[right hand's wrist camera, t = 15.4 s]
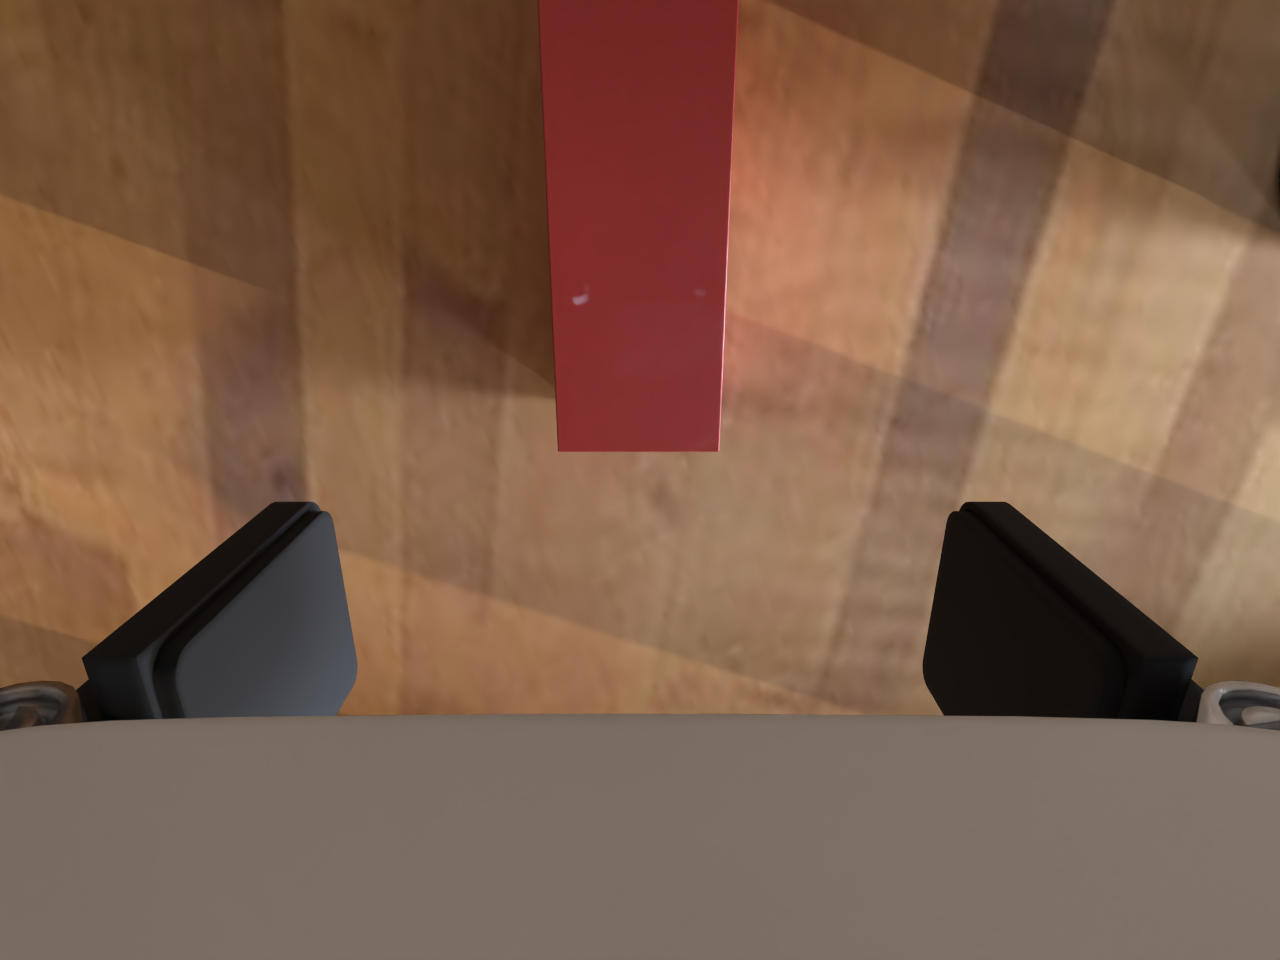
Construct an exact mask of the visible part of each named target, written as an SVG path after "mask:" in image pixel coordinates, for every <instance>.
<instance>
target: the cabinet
mask: <svg viewBox="0 0 1280 960" xmlns="http://www.w3.org/2000/svg"><path fill="white" fill-rule="evenodd" d="M738 8H739V0H538V18H539V40H540V63H541V85H542V107H543V129H544V151H545V173H546V195H547V217H548V240H549V262H550V284H551V306H552V328H553V350H554V372H555V394H556V417H557V439H558V451H559V452H696V451H719V446H720V423H721V400H722V377H723V354H724V331H725V308H726V285H727V262H728V238H729V215H730V192H731V169H732V146H733V123H734V100H735V77H736V54H737V31H738Z"/></svg>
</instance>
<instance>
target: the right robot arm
mask: <svg viewBox="0 0 1280 960" xmlns="http://www.w3.org/2000/svg"><path fill="white" fill-rule="evenodd" d="M82 660H83V663H84V666H85V669H86V672H87V675H88V678H89V680H87V681H86V682H85V683H84V684H83V685H82V686H81V687H79V688H78V689H77V690H75V689H74V687H73V686H70V685H68V684H65V683H63V682H57V681H35V682H26V683H18V684H14V685H11V686H7V687H3V688H0V960H1280V688H1277V687H1273V686H1269V685H1266V684H1262V683H1254V682H1245V681H1223V682H1217V683H1215V684H1212V685H1210V686H1207V687H1206V689H1205V690H1203V689H1202V688H1201V687H1199V686H1198V685H1197V684H1196V683H1195V682H1194V681H1193V680H1191V678H1192V675H1193V672H1194V669H1195V666H1196V663H1197V660H1198V657H1196V656H1195V655H1194V654H1193V653H1192V652H1190V651H1189V650H1188V649H1187V648H1185V647H1184V646H1183V645H1182V644H1181V643H1179V642H1178V641H1177V640H1176V639H1174V638H1173V637H1172V636H1171V635H1169V634H1168V633H1167V632H1166V631H1165V630H1163V629H1162V628H1161V627H1160V626H1158V625H1157V624H1156V623H1155V622H1154V621H1152V620H1151V619H1150V618H1149V617H1147V616H1146V615H1145V614H1144V613H1142V612H1141V611H1140V610H1139V609H1138V608H1136V607H1135V606H1134V605H1133V604H1131V603H1130V602H1129V601H1128V600H1127V599H1125V598H1124V597H1123V596H1122V595H1120V594H1119V593H1118V592H1117V591H1116V590H1114V589H1113V588H1112V587H1111V586H1109V585H1108V584H1107V583H1106V582H1104V581H1103V580H1102V579H1101V578H1100V577H1098V576H1097V575H1096V574H1095V573H1093V572H1092V571H1091V570H1090V569H1089V568H1087V567H1086V566H1085V565H1084V564H1082V563H1081V562H1080V561H1079V560H1077V559H1076V558H1075V557H1074V556H1073V555H1071V554H1070V553H1069V552H1068V551H1066V550H1065V549H1064V548H1063V547H1062V546H1060V545H1059V544H1058V543H1057V542H1055V541H1054V540H1053V539H1052V538H1050V537H1049V536H1048V535H1047V534H1046V533H1044V532H1043V531H1042V530H1041V529H1039V528H1038V527H1037V526H1036V525H1035V524H1033V523H1032V522H1031V521H1030V520H1028V519H1027V518H1026V517H1025V516H1024V515H1022V514H1021V513H1020V512H1019V511H1017V510H1016V509H1015V508H1014V507H1012V506H1011V505H1010V504H1008V503H1006V502H965V503H964V504H963V505H962V506H961V508H960V510H959V511H954V512H952V513H951V514H950V515H949V517H948V520H947V524H946V530H945V535H944V541H943V547H942V553H941V559H940V565H939V570H938V576H937V582H936V588H935V594H934V600H933V605H932V611H931V617H930V623H929V629H928V635H927V640H926V646H925V652H924V658H923V675H924V680H925V683H926V685H927V687H928V689H929V691H930V693H931V694H932V696H933V698H934V699H935V701H936V703H937V704H938V706H939V708H940V709H941V711H942V713H943V714H944V716H916V715H798V714H457V715H364V716H336V714H337V713H338V711H339V709H340V708H341V706H342V704H343V703H344V701H345V699H346V698H347V696H348V694H349V693H350V691H351V689H352V687H353V685H354V683H355V680H356V675H357V658H356V652H355V646H354V640H353V635H352V629H351V623H350V617H349V611H348V605H347V600H346V594H345V588H344V582H343V576H342V570H341V565H340V559H339V553H338V547H337V541H336V535H335V530H334V524H333V520H332V517H331V515H330V514H329V513H328V512H326V511H321V510H320V508H319V506H318V505H317V504H316V503H315V502H274V503H272V504H270V505H269V506H268V507H266V508H265V509H264V510H263V511H261V512H260V513H259V514H258V515H256V516H255V517H254V518H253V519H252V520H250V521H249V522H248V523H247V524H245V525H244V526H243V527H242V528H241V529H239V530H238V531H237V532H236V533H234V534H233V535H232V536H231V537H230V538H228V539H227V540H226V541H225V542H223V543H222V544H221V545H220V546H218V547H217V548H216V549H215V550H214V551H212V552H211V553H210V554H209V555H207V556H206V557H205V558H204V559H203V560H201V561H200V562H199V563H198V564H196V565H195V566H194V567H193V568H191V569H190V570H189V571H188V572H187V573H185V574H184V575H183V576H182V577H180V578H179V579H178V580H177V581H176V582H174V583H173V584H172V585H171V586H169V587H168V588H167V589H166V590H164V591H163V592H162V593H161V594H160V595H158V596H157V597H156V598H155V599H153V600H152V601H151V602H150V603H149V604H147V605H146V606H145V607H144V608H142V609H141V610H140V611H139V612H138V613H136V614H135V615H134V616H133V617H131V618H130V619H129V620H128V621H126V622H125V623H124V624H123V625H122V626H120V627H119V628H118V629H117V630H115V631H114V632H113V633H112V634H111V635H109V636H108V637H107V638H106V639H104V640H103V641H102V642H101V643H99V644H98V645H97V646H96V647H95V648H93V649H92V650H91V651H90V652H88V653H87V654H86V655H85V656H84V657H82Z"/></svg>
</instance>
